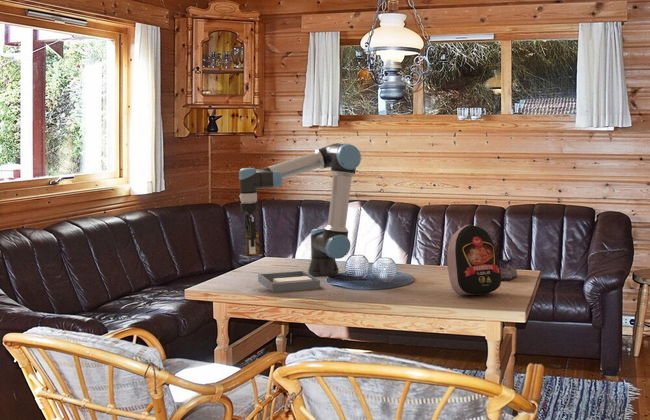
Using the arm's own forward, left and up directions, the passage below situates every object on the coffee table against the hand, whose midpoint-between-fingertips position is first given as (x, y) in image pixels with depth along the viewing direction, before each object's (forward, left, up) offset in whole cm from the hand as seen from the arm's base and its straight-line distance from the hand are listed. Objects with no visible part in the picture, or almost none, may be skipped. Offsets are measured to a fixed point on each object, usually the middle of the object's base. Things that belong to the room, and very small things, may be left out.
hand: (250, 252), depth 400 cm
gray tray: (-16, +5, -16) cm, 23 cm away
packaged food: (-86, +51, -16) cm, 101 cm away
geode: (-118, +23, -17) cm, 121 cm away
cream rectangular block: (-16, +12, -15) cm, 25 cm away
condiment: (0, 0, -2) cm, 2 cm away
